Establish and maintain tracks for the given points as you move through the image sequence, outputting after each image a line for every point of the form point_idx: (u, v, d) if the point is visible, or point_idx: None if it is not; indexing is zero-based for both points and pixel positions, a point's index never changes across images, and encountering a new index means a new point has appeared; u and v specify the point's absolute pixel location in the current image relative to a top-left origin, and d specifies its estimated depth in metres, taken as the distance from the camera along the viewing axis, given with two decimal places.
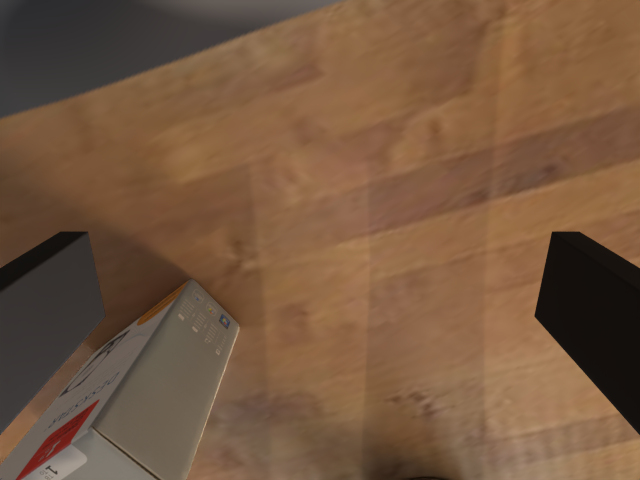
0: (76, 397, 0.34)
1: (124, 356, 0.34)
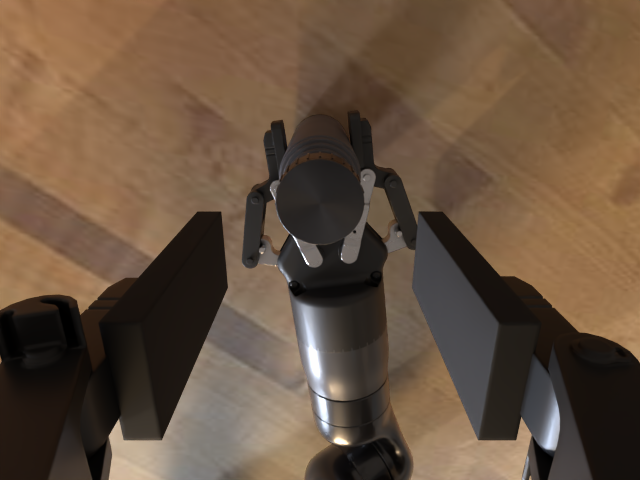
0: None
1: None
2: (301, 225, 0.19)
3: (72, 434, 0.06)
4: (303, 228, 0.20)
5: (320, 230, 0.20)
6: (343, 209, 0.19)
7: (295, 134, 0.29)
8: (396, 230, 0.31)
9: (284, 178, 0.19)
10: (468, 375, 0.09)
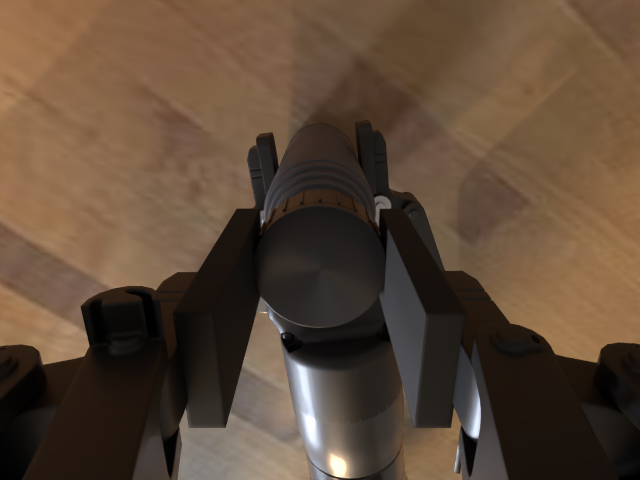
0: None
1: None
2: (292, 301, 0.13)
3: (153, 423, 0.06)
4: (295, 305, 0.13)
5: (320, 308, 0.13)
6: (355, 278, 0.13)
7: (288, 151, 0.22)
8: None
9: (265, 233, 0.12)
10: (408, 365, 0.09)
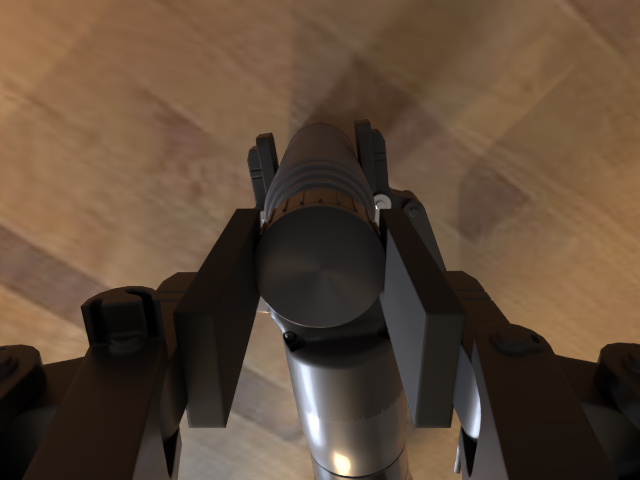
0: None
1: None
2: (364, 273, 0.13)
3: (153, 423, 0.06)
4: (367, 268, 0.13)
5: (355, 246, 0.12)
6: (306, 237, 0.12)
7: (288, 151, 0.23)
8: None
9: (318, 326, 0.13)
10: (408, 365, 0.09)
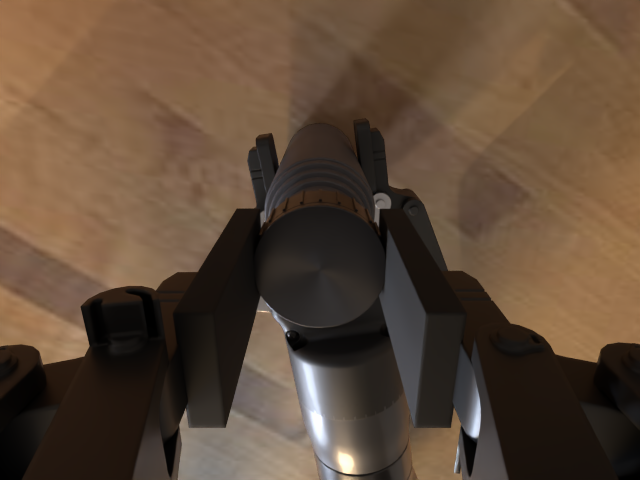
0: None
1: None
2: (296, 234, 0.12)
3: (153, 423, 0.06)
4: (290, 235, 0.12)
5: (278, 257, 0.12)
6: (299, 297, 0.13)
7: (287, 151, 0.23)
8: None
9: (375, 235, 0.12)
10: (408, 365, 0.09)
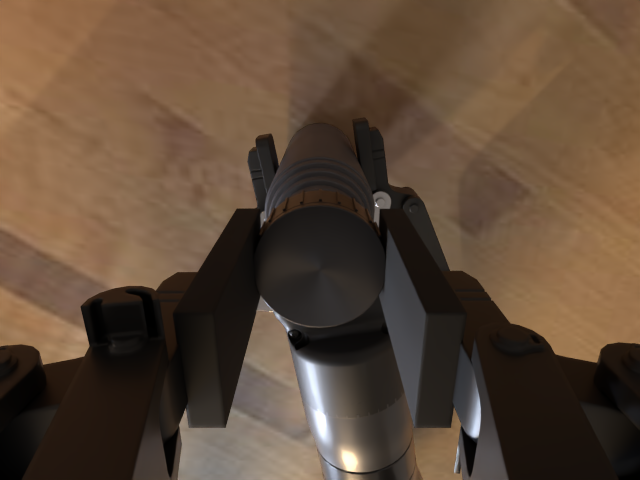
0: None
1: None
2: (302, 306, 0.13)
3: (153, 423, 0.06)
4: (306, 309, 0.13)
5: (331, 306, 0.13)
6: (356, 269, 0.13)
7: (287, 151, 0.23)
8: None
9: (257, 248, 0.12)
10: (408, 365, 0.09)
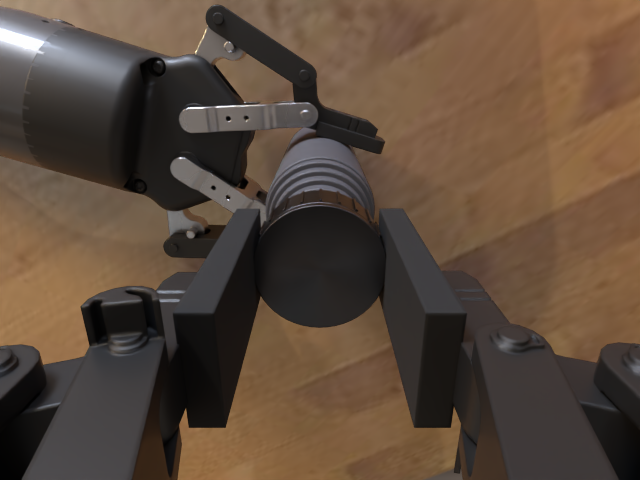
0: None
1: None
2: (301, 306, 0.13)
3: (153, 423, 0.06)
4: (306, 309, 0.13)
5: (331, 306, 0.13)
6: (356, 269, 0.13)
7: None
8: (196, 230, 0.25)
9: (257, 248, 0.12)
10: (409, 365, 0.09)
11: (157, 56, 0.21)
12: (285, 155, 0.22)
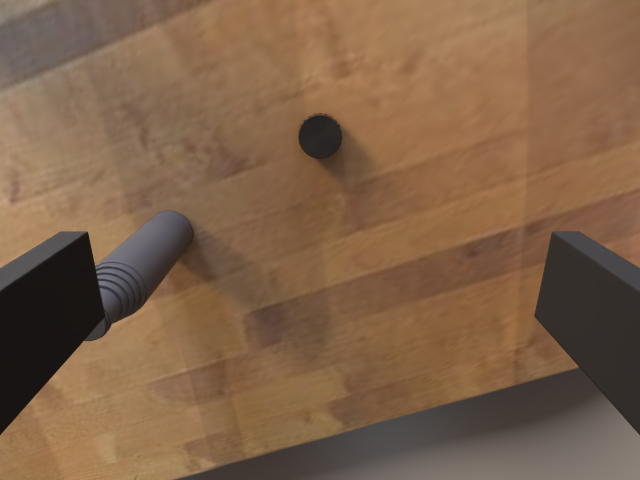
0: None
1: None
2: (314, 150, 0.40)
3: None
4: (315, 151, 0.40)
5: (323, 150, 0.40)
6: (331, 136, 0.40)
7: (170, 253, 0.38)
8: None
9: (300, 129, 0.40)
10: None
11: None
12: None
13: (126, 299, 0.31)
